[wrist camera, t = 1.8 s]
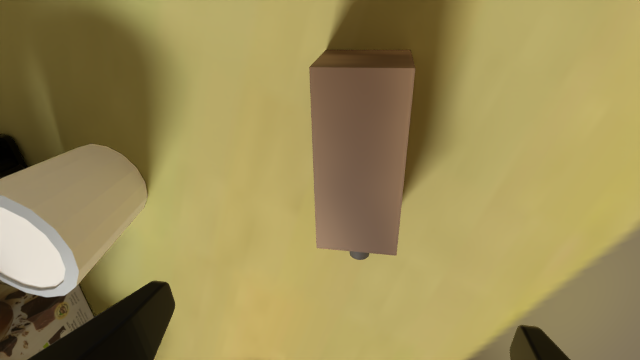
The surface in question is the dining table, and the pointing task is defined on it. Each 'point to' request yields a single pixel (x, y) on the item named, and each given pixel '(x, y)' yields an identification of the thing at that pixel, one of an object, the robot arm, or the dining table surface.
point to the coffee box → (37, 320)
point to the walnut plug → (360, 147)
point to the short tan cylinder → (65, 217)
